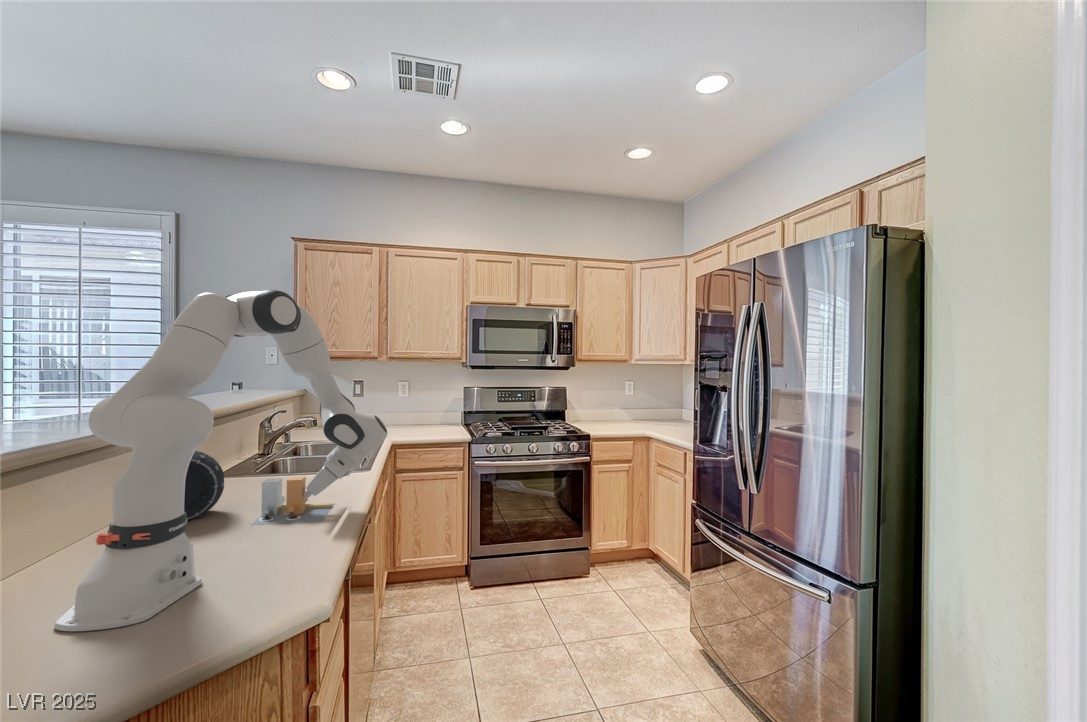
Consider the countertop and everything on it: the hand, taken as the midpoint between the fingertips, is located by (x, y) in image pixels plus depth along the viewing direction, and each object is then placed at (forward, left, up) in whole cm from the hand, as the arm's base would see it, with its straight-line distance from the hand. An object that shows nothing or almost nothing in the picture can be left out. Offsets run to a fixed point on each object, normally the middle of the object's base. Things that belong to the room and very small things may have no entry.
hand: (306, 495), depth 140 cm
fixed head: (+1, +9, -5) cm, 11 cm away
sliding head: (+1, +3, -5) cm, 6 cm away
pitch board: (0, +3, -6) cm, 7 cm away
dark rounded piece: (+2, +33, -7) cm, 34 cm away
